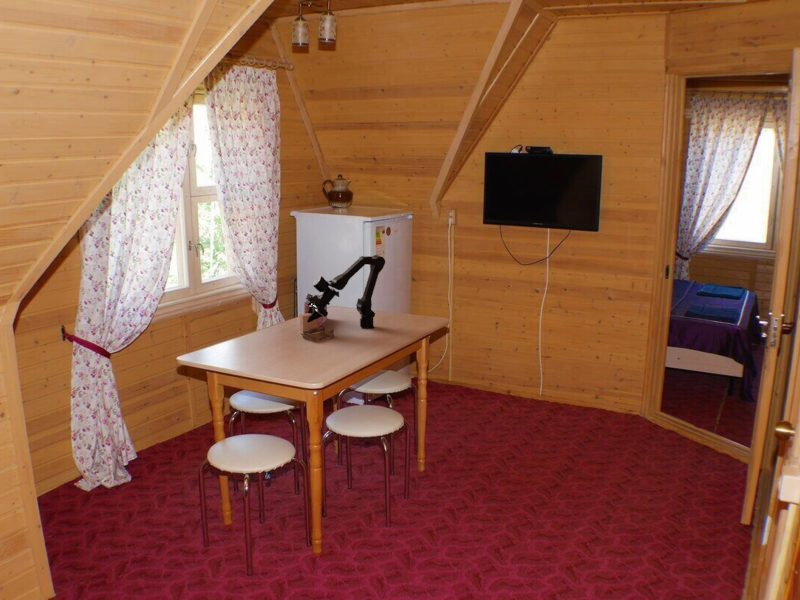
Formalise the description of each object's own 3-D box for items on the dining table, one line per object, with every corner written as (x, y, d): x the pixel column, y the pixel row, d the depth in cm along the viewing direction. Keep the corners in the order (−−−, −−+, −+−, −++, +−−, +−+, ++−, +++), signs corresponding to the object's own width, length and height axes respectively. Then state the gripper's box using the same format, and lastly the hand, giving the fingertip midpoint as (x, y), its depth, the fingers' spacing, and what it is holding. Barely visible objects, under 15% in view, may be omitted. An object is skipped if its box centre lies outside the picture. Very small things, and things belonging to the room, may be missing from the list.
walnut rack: (323, 333, 382) (323, 326, 382) (334, 337, 376) (333, 329, 375) (302, 338, 374) (302, 330, 373) (313, 341, 367) (313, 334, 366)
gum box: (317, 329, 393) (317, 304, 390) (303, 328, 393) (302, 303, 391) (327, 318, 416) (327, 295, 413) (313, 318, 417) (313, 294, 414)
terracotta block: (315, 331, 386) (314, 312, 384) (317, 333, 382) (317, 314, 380) (300, 332, 383) (299, 314, 381) (303, 334, 379) (302, 315, 377)
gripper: (309, 285, 387) (289, 307, 385) (321, 291, 371) (301, 315, 369) (323, 298, 393) (304, 320, 390) (336, 305, 376) (316, 328, 374)
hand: (306, 320), depth 381 cm, fingers closed on terracotta block, 4 cm apart
